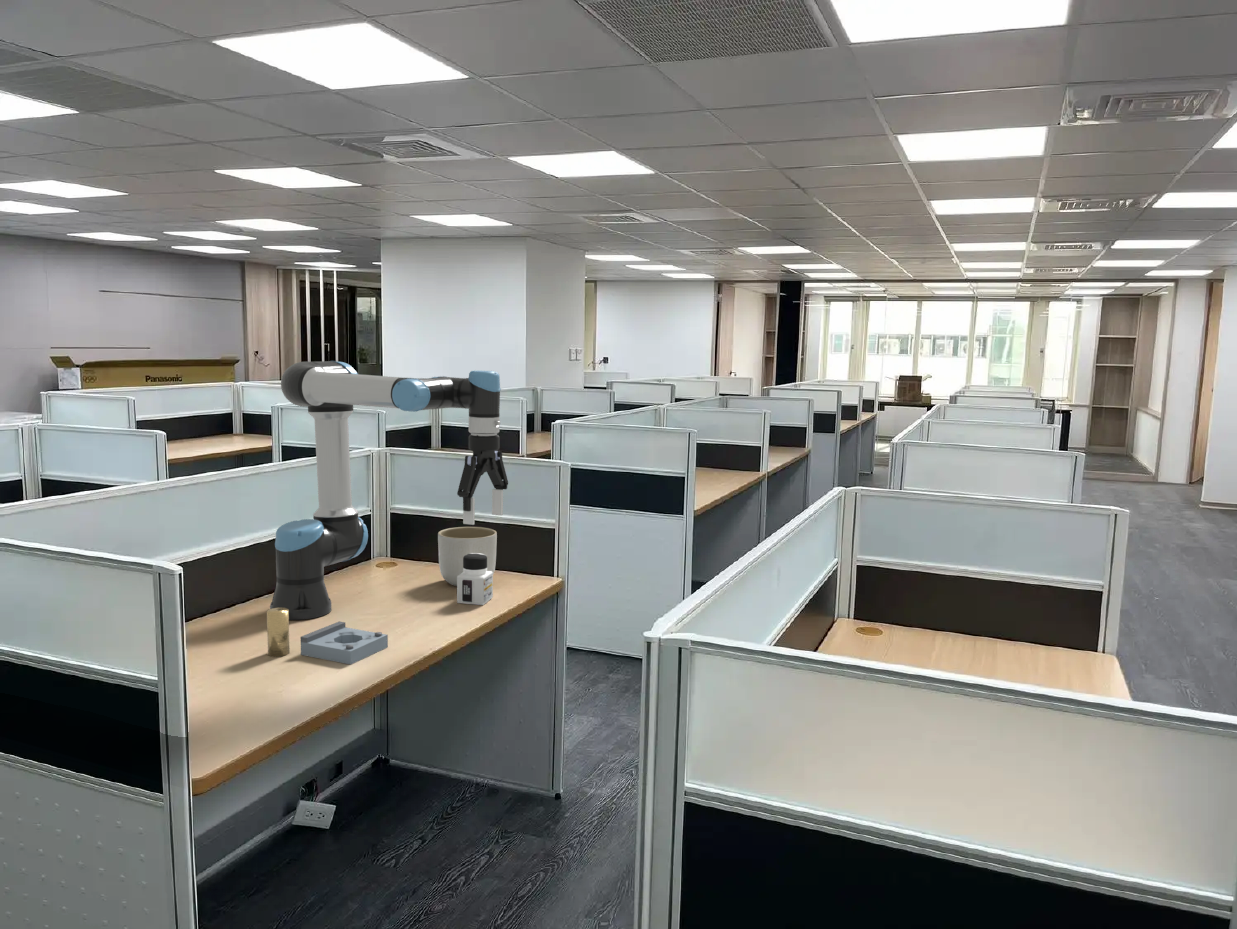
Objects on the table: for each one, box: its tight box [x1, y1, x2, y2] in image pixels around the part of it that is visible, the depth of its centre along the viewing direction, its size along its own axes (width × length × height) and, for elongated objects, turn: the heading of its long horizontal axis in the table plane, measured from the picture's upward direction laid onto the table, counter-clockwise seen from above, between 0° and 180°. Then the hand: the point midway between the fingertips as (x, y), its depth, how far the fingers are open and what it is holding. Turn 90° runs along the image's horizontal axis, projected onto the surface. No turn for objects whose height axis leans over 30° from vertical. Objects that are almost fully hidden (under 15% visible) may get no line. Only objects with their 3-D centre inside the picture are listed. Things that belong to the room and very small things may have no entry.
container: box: [456, 553, 494, 606], centre depth 253 cm, size 8×8×13 cm
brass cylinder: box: [266, 608, 291, 658], centre depth 208 cm, size 5×5×10 cm
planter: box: [437, 526, 498, 587], centre depth 272 cm, size 17×17×15 cm
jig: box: [300, 621, 389, 665], centre depth 211 cm, size 14×13×4 cm
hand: (483, 519), depth 229 cm, fingers open, 13 cm apart
